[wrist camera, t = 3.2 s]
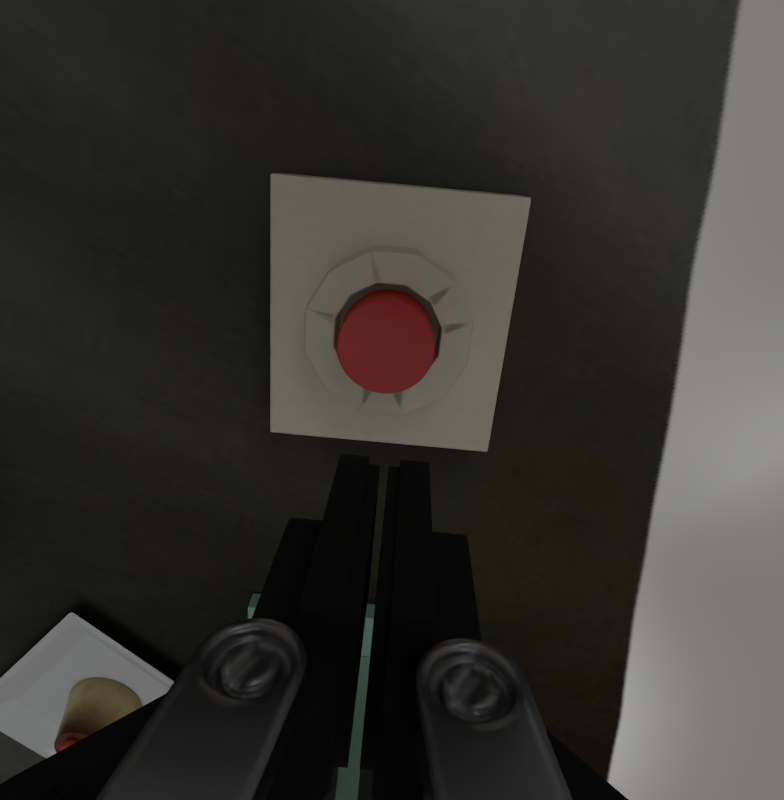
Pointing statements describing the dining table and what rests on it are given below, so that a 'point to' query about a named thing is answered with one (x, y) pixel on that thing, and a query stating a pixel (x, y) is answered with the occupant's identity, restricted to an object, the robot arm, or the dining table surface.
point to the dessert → (73, 687)
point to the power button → (386, 342)
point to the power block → (400, 271)
